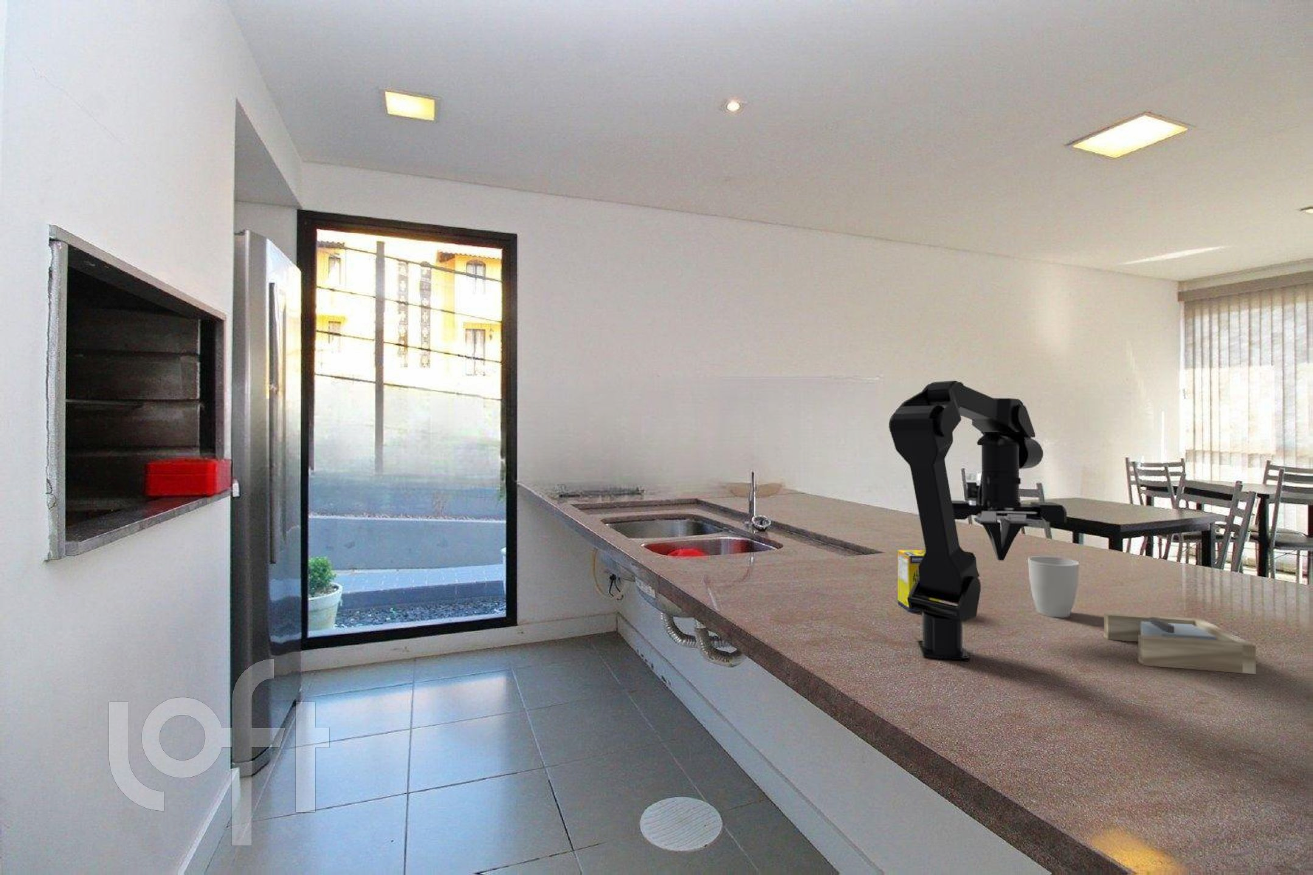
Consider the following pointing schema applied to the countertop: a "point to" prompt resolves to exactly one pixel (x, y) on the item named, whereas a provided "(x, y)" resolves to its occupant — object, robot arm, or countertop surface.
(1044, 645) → the countertop surface
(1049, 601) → the cup
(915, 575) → the supplement box
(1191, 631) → the sliding lid
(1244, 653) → the tray
